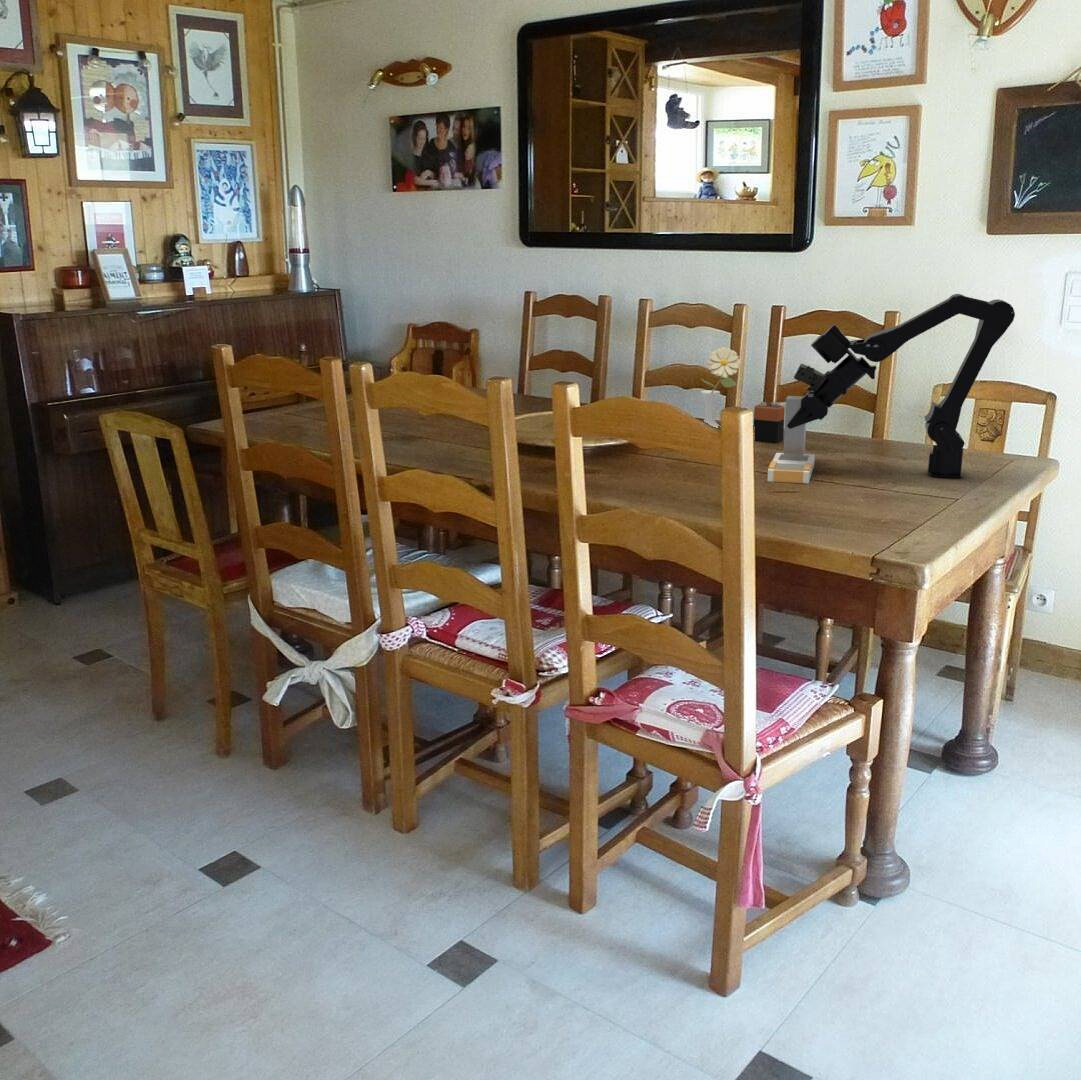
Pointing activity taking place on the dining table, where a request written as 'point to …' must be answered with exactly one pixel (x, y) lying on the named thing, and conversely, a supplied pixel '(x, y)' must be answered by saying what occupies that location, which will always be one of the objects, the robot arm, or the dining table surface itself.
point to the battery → (769, 422)
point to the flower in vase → (723, 366)
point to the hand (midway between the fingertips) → (789, 425)
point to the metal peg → (793, 429)
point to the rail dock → (791, 468)
